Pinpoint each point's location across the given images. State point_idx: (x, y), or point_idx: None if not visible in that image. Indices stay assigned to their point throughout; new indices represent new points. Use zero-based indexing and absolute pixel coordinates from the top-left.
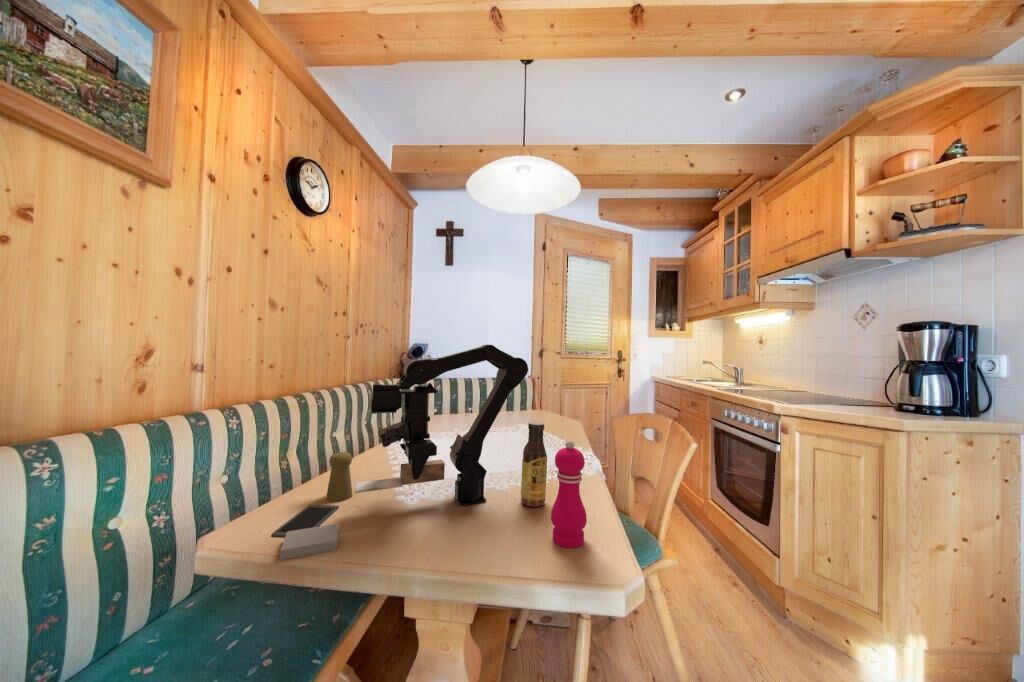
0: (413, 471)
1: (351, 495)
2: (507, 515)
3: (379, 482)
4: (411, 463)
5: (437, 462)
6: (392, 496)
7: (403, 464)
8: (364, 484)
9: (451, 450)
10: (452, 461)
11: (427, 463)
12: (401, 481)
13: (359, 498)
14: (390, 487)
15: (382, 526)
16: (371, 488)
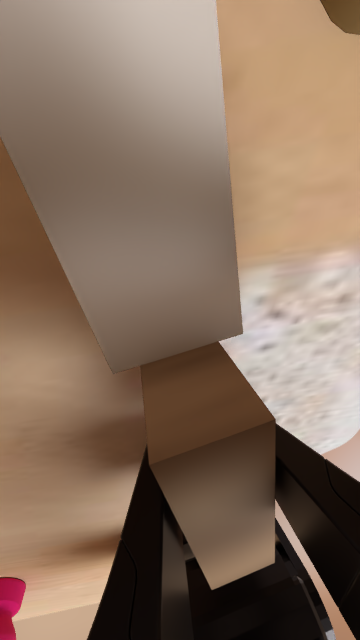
0: (135, 491)
1: (351, 24)
2: (96, 517)
3: (171, 204)
4: (113, 598)
5: (231, 569)
6: (275, 251)
7: (252, 442)
8: (128, 21)
9: (315, 636)
10: (237, 587)
11: (226, 547)
12: (164, 359)
13: (308, 88)
14: (81, 304)
15: (4, 249)
16: (4, 135)
